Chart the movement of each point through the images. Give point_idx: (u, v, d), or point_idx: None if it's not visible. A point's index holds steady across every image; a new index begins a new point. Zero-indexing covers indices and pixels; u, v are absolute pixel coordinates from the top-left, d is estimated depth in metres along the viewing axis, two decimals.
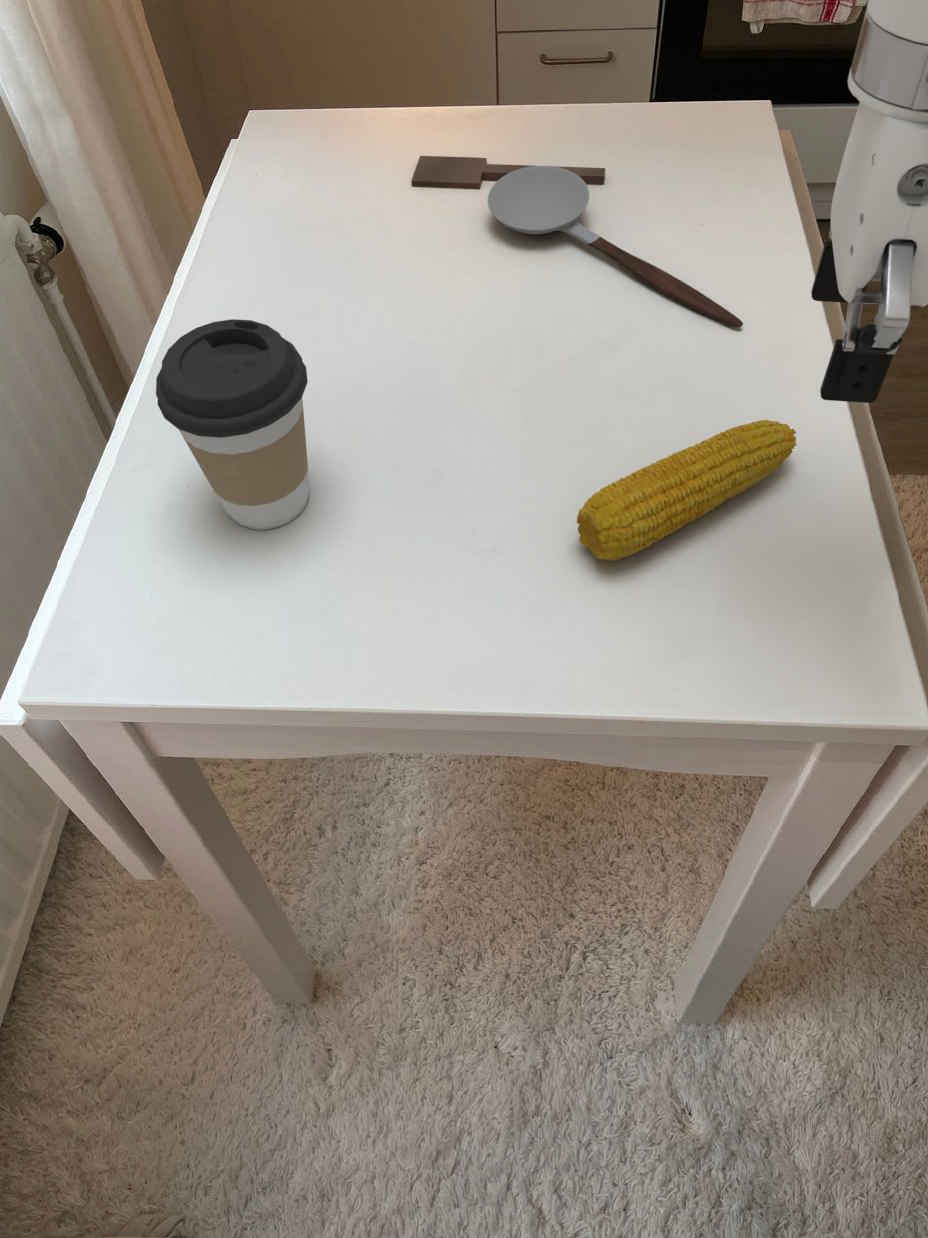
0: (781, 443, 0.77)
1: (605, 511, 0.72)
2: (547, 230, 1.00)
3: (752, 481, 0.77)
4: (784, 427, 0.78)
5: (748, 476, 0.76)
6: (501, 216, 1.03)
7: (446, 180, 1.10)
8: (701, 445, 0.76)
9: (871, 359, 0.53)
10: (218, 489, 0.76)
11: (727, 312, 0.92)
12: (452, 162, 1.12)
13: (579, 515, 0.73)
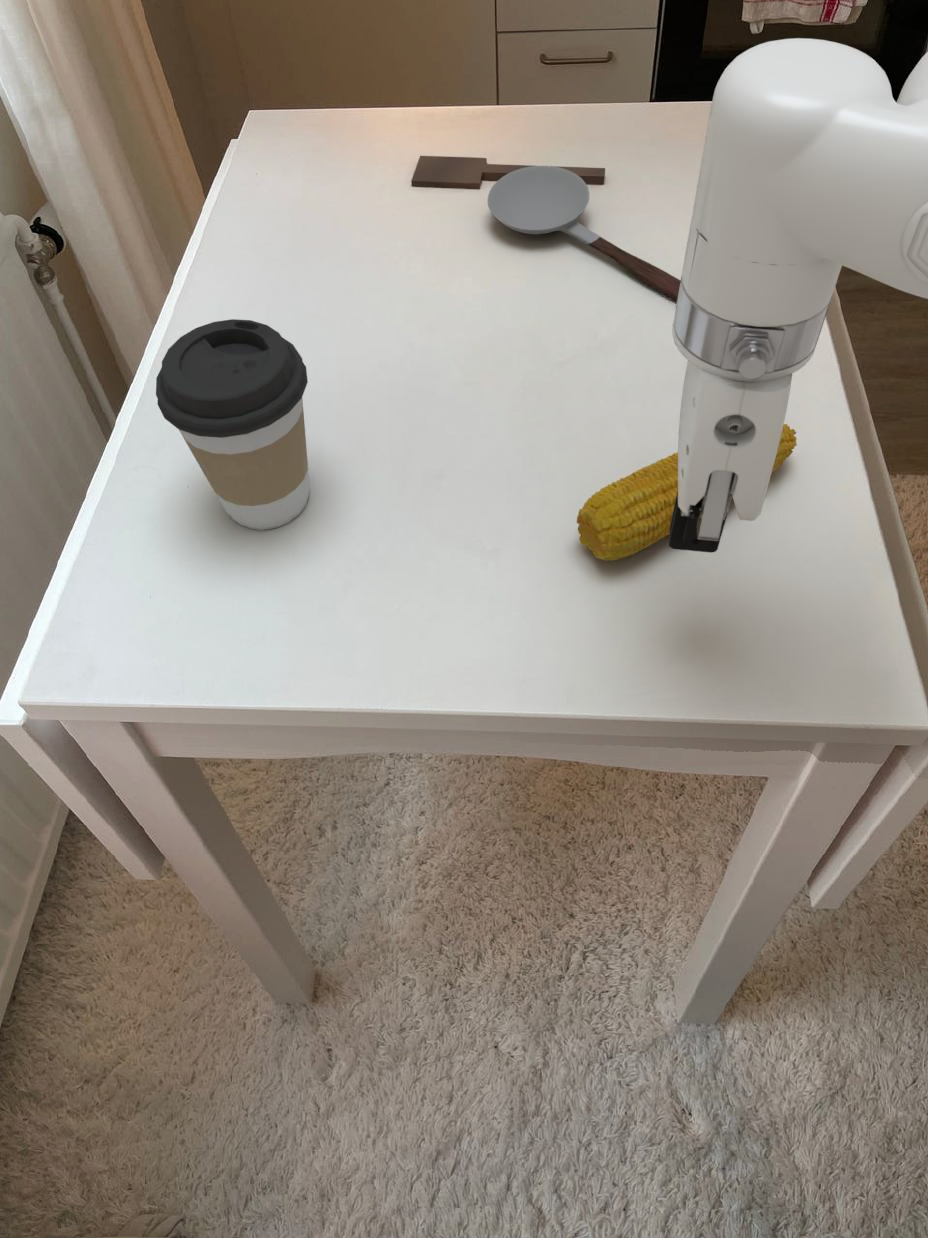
0: (781, 443, 0.77)
1: (605, 511, 0.72)
2: (547, 230, 1.00)
3: None
4: (784, 427, 0.78)
5: None
6: (501, 216, 1.03)
7: (446, 180, 1.10)
8: None
9: None
10: (218, 489, 0.76)
11: None
12: (452, 162, 1.12)
13: (579, 515, 0.73)
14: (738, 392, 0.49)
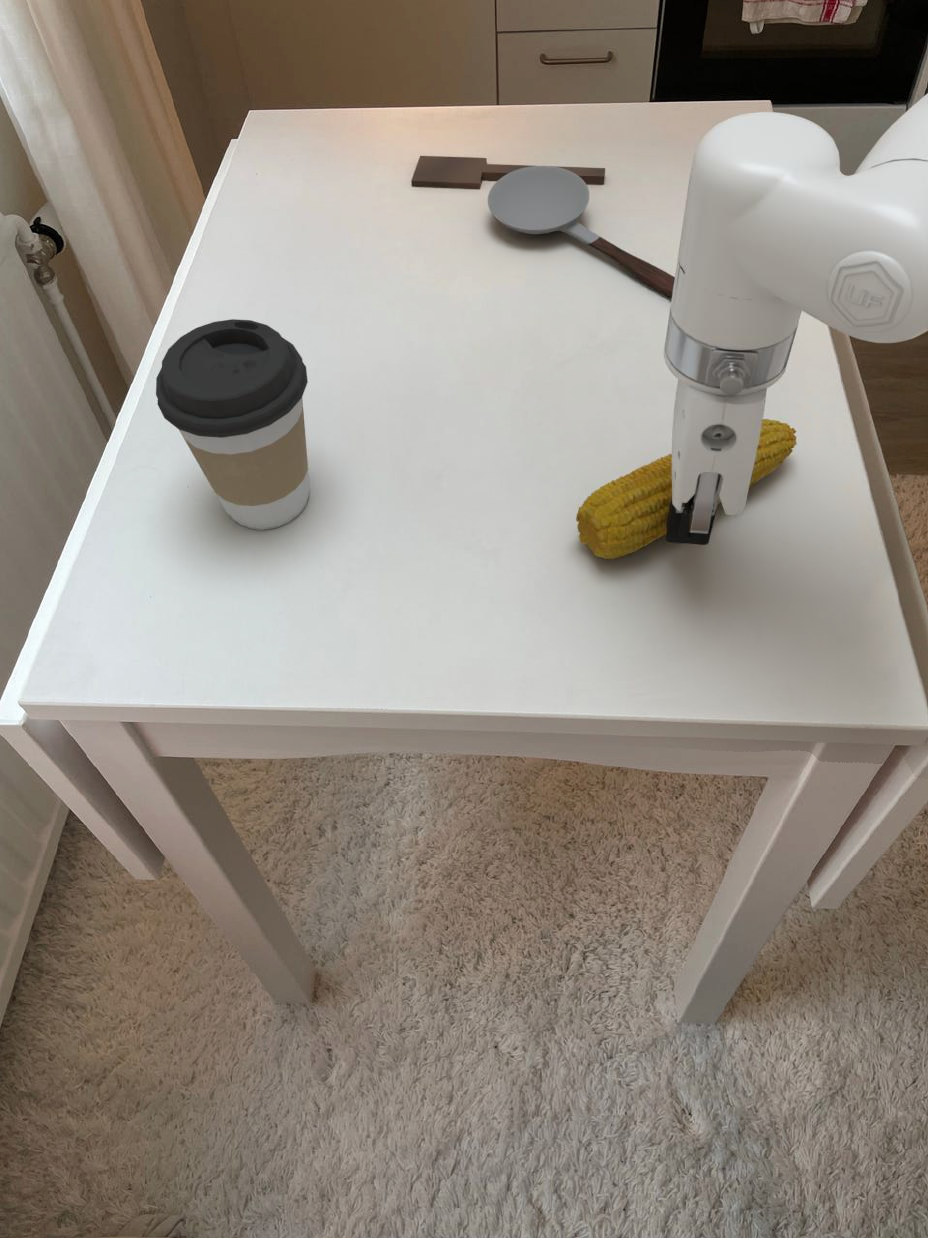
0: (781, 442, 0.77)
1: (605, 509, 0.72)
2: (547, 230, 1.00)
3: (752, 480, 0.77)
4: (784, 426, 0.78)
5: None
6: (501, 216, 1.03)
7: (446, 180, 1.10)
8: None
9: None
10: (218, 489, 0.76)
11: None
12: (452, 162, 1.12)
13: (578, 513, 0.74)
14: (720, 405, 0.57)
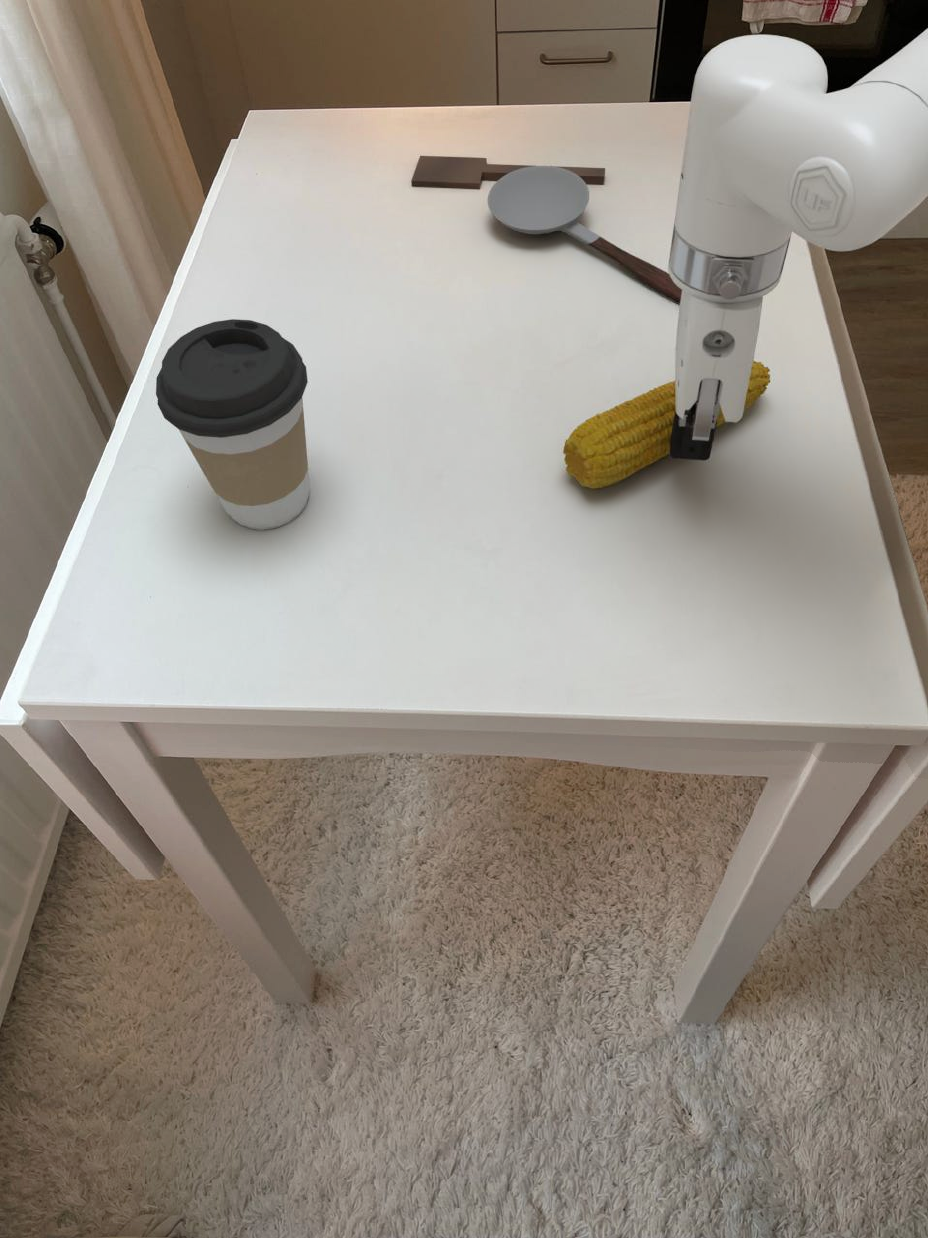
0: (755, 379, 0.82)
1: (590, 439, 0.76)
2: (547, 230, 1.00)
3: None
4: (758, 364, 0.83)
5: None
6: (501, 216, 1.03)
7: (446, 180, 1.10)
8: None
9: None
10: (218, 489, 0.76)
11: None
12: (452, 162, 1.12)
13: (565, 445, 0.78)
14: (720, 311, 0.62)
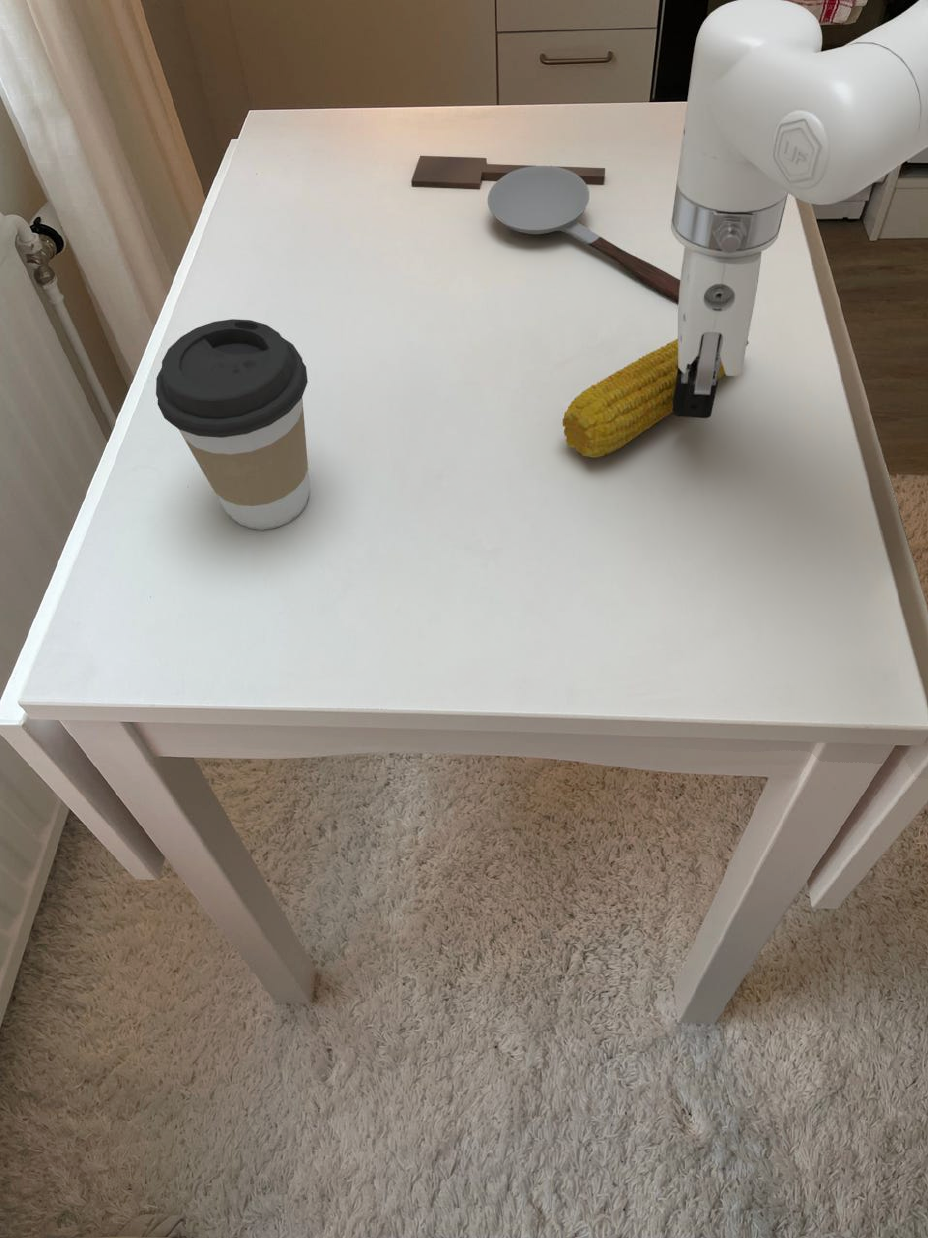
0: None
1: (590, 409, 0.78)
2: (547, 230, 1.00)
3: None
4: None
5: None
6: (501, 216, 1.03)
7: (446, 180, 1.10)
8: (666, 347, 0.83)
9: None
10: (218, 489, 0.76)
11: None
12: (452, 162, 1.12)
13: (565, 417, 0.80)
14: (720, 265, 0.65)
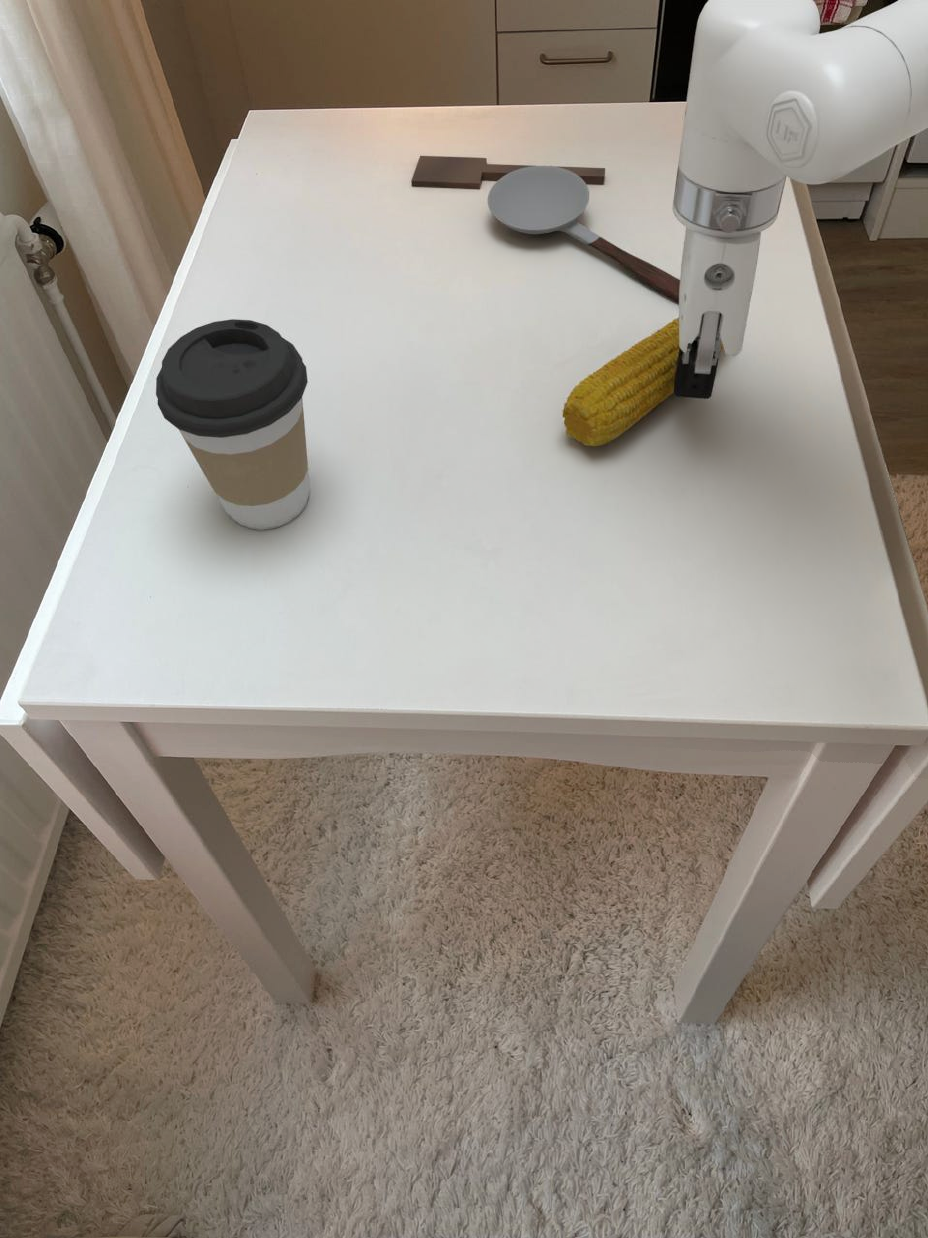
0: None
1: (590, 398, 0.79)
2: (547, 230, 1.00)
3: None
4: None
5: None
6: (501, 216, 1.03)
7: (446, 180, 1.10)
8: (657, 334, 0.84)
9: None
10: (218, 489, 0.76)
11: None
12: (452, 162, 1.12)
13: (565, 408, 0.81)
14: (720, 245, 0.67)
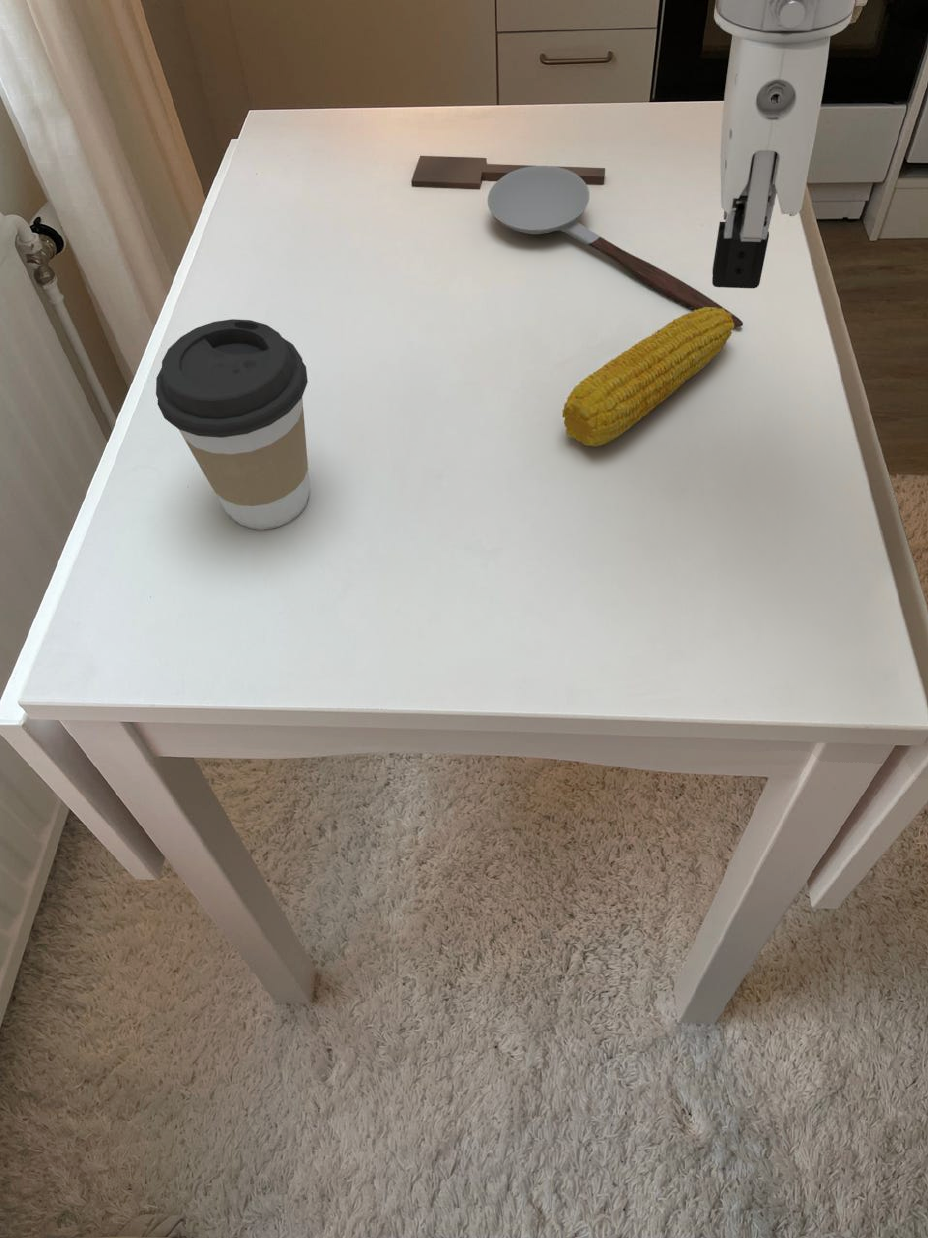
0: (723, 324, 0.86)
1: (591, 398, 0.79)
2: (547, 230, 1.00)
3: (705, 361, 0.86)
4: (722, 310, 0.87)
5: (702, 356, 0.85)
6: (501, 216, 1.03)
7: (446, 180, 1.10)
8: (657, 334, 0.84)
9: (747, 245, 0.63)
10: (218, 489, 0.76)
11: None
12: (452, 162, 1.12)
13: (565, 408, 0.81)
14: (778, 52, 0.51)
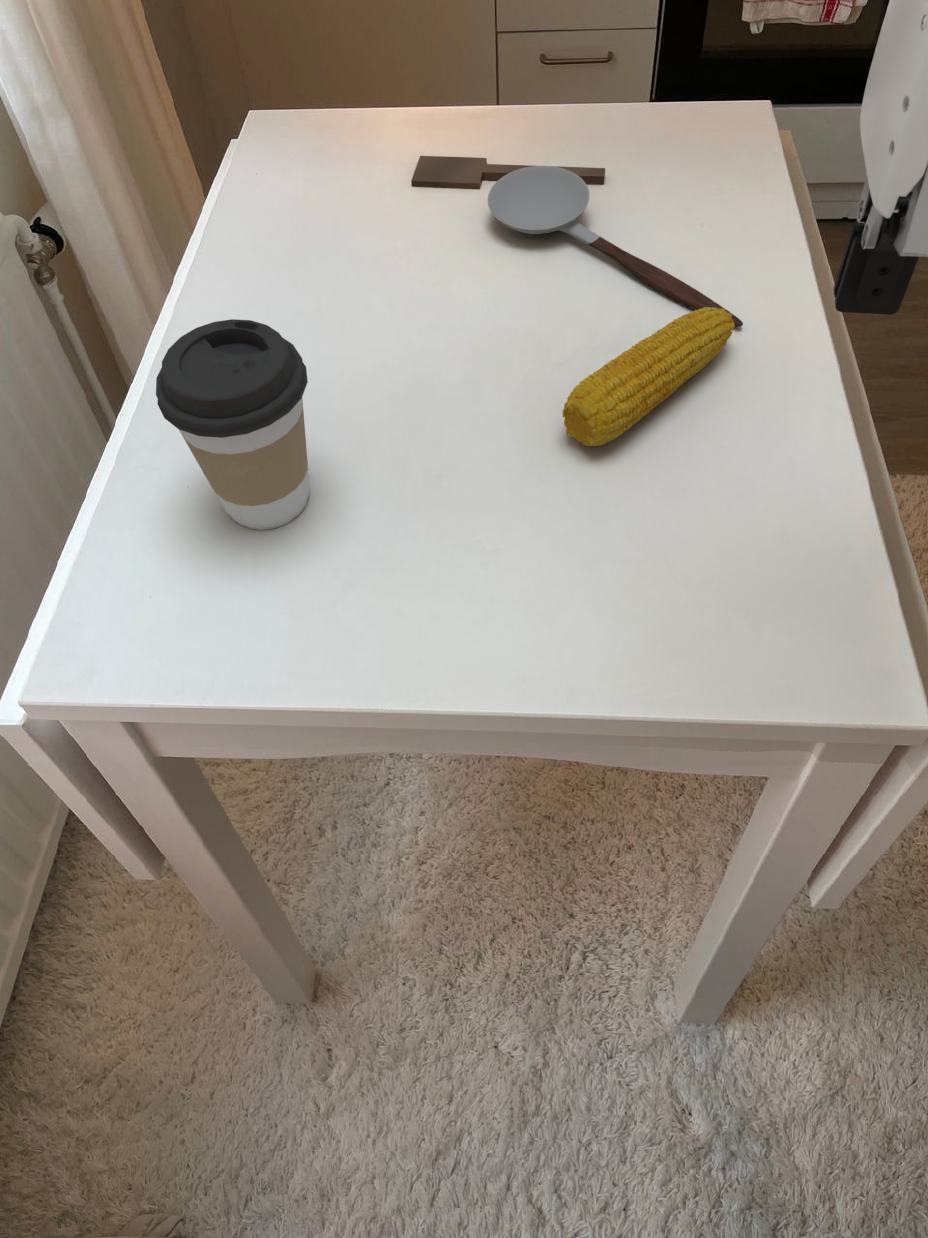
0: (723, 324, 0.86)
1: (591, 398, 0.79)
2: (547, 230, 1.00)
3: (705, 361, 0.86)
4: (723, 311, 0.87)
5: (702, 356, 0.85)
6: (501, 216, 1.03)
7: (446, 180, 1.10)
8: (657, 334, 0.84)
9: (894, 258, 0.47)
10: (218, 489, 0.76)
11: None
12: (452, 162, 1.12)
13: (565, 408, 0.81)
14: None
